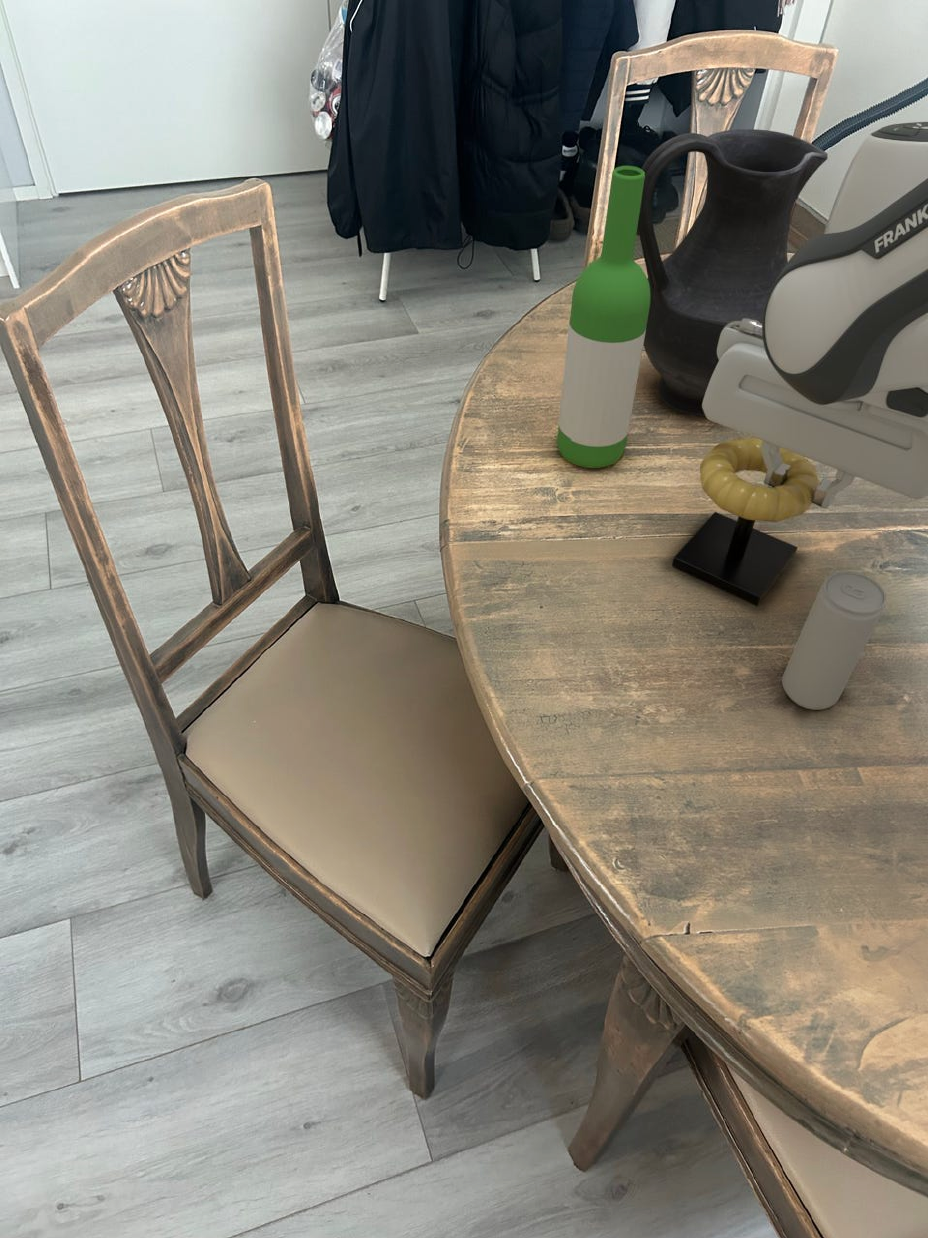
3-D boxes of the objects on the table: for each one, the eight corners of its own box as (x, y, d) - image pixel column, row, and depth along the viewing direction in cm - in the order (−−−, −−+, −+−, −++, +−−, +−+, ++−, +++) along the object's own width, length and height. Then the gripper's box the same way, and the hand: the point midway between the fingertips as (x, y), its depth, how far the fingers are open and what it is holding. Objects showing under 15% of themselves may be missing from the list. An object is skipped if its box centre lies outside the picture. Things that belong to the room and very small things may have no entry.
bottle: (596, 425, 103) (636, 150, 82) (638, 459, 98) (691, 177, 77) (542, 444, 100) (567, 164, 79) (582, 480, 96) (621, 193, 74)
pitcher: (795, 422, 104) (885, 150, 82) (634, 450, 100) (685, 169, 78) (725, 351, 115) (788, 95, 94) (578, 373, 111) (609, 110, 90)
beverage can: (825, 722, 73) (875, 622, 64) (770, 695, 75) (812, 594, 66) (845, 687, 76) (897, 587, 67) (792, 661, 78) (836, 560, 69)
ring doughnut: (830, 485, 81) (840, 459, 79) (785, 544, 76) (795, 517, 73) (727, 445, 86) (734, 418, 83) (677, 497, 80) (683, 470, 78)
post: (794, 555, 87) (816, 498, 82) (756, 606, 82) (777, 548, 77) (712, 520, 91) (728, 463, 86) (671, 566, 86) (685, 508, 81)
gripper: (708, 325, 71) (676, 466, 80) (971, 413, 62) (899, 558, 72) (742, 297, 74) (707, 435, 84) (995, 377, 66) (923, 520, 76)
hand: (797, 493), depth 78 cm, fingers closed on ring doughnut, 3 cm apart
